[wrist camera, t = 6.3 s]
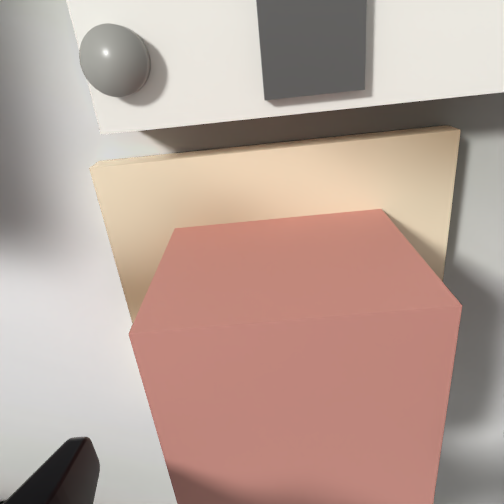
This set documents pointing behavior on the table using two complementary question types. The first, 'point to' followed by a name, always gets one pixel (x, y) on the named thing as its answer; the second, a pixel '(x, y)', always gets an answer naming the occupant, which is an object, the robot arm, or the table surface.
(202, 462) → the pink block
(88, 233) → the table surface
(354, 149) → the pad
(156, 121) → the panel
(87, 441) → the robot arm
